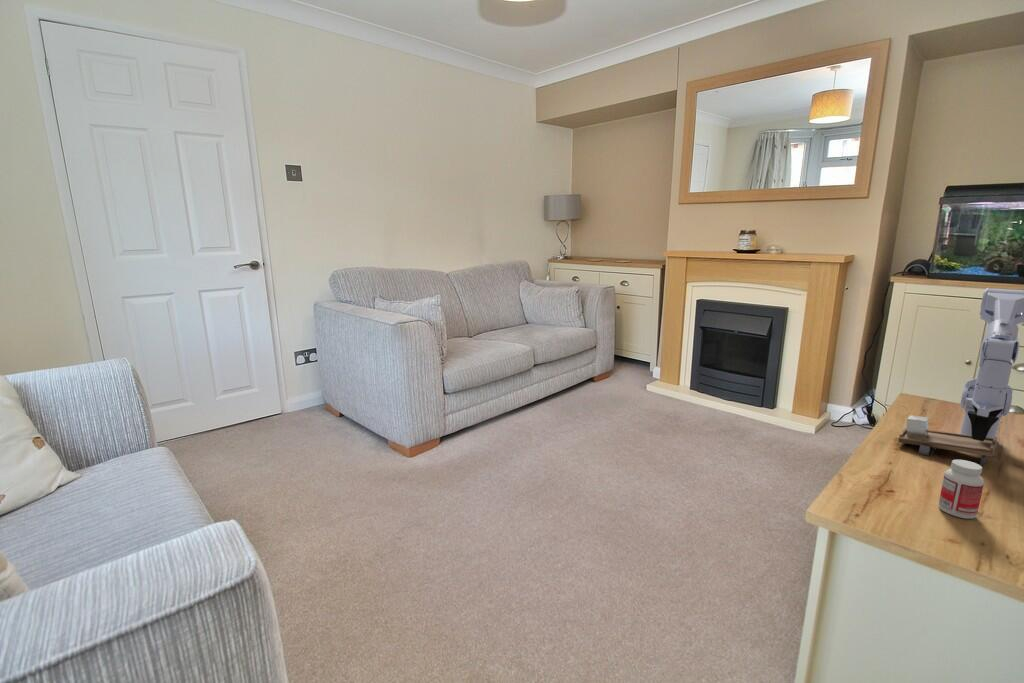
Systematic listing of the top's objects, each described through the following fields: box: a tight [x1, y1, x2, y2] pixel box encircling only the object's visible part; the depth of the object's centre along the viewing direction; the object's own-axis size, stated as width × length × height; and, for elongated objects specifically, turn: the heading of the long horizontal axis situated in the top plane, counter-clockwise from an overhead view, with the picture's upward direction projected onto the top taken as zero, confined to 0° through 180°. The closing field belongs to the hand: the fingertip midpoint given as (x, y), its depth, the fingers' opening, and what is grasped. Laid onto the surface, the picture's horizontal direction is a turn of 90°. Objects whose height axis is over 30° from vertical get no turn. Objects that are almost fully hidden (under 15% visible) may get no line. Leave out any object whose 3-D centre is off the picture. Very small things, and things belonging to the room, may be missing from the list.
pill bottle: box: [938, 459, 985, 520], centre depth 102 cm, size 6×6×11 cm
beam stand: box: [901, 443, 987, 467], centre depth 131 cm, size 14×17×3 cm
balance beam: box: [898, 426, 998, 457], centre depth 130 cm, size 11×18×2 cm, turn 41°
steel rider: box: [906, 415, 929, 439], centre depth 135 cm, size 4×4×5 cm
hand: (979, 435), depth 125 cm, fingers open, 7 cm apart
